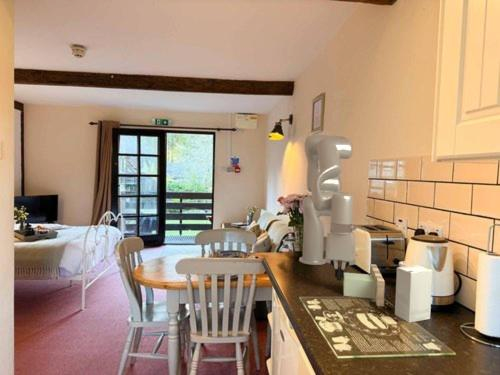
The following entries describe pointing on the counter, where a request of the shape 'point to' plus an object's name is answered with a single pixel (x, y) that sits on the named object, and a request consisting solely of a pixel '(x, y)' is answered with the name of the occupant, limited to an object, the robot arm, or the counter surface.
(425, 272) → the skincare box
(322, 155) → the robot arm
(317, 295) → the counter surface
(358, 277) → the sage block
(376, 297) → the birch board
